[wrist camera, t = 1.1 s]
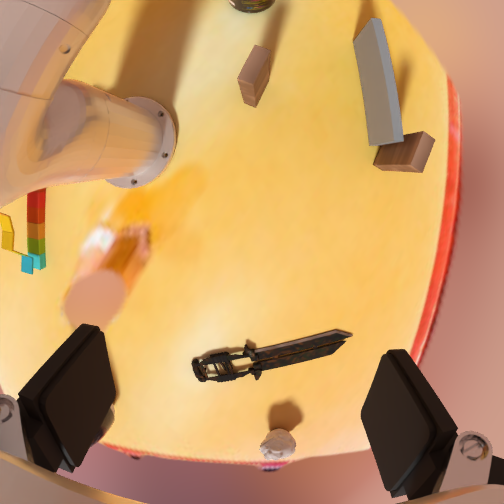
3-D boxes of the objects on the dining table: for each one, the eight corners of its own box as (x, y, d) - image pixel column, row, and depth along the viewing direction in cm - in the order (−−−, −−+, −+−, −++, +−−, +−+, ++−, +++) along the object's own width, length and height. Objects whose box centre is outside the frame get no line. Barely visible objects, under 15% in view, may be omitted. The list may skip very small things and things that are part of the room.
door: (384, 145, 35) (411, 141, 28) (369, 145, 35) (394, 141, 28) (367, 43, 31) (388, 20, 24) (352, 42, 31) (371, 17, 24)
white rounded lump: (271, 416, 48) (272, 444, 41) (302, 428, 49) (305, 456, 42) (252, 432, 49) (251, 460, 43) (282, 444, 50) (283, 471, 44)
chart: (48, 83, 34) (-15, 67, 20) (62, 81, 34) (-1, 62, 20) (34, 262, 42) (-24, 294, 28) (46, 266, 42) (-12, 299, 28)
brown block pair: (244, 103, 35) (237, 78, 24) (257, 77, 34) (254, 44, 23) (382, 170, 37) (422, 172, 26) (393, 145, 36) (435, 139, 25)
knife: (351, 324, 43) (353, 329, 42) (352, 358, 45) (354, 363, 44) (188, 349, 45) (186, 354, 44) (199, 380, 47) (198, 385, 45)
